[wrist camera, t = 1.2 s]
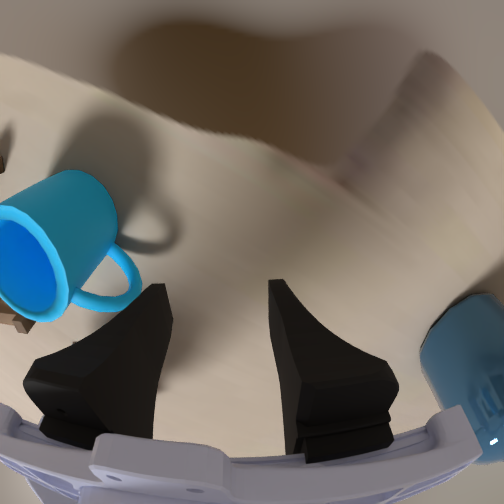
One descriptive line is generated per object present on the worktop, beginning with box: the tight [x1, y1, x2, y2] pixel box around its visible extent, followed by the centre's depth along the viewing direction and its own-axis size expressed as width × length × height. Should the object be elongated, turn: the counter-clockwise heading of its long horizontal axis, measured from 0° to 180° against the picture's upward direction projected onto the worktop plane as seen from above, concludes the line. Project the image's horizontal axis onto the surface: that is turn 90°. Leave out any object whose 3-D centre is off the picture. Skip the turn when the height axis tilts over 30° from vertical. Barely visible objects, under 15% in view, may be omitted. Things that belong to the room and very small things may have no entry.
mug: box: [0, 170, 142, 322], centre depth 17 cm, size 12×8×8 cm
